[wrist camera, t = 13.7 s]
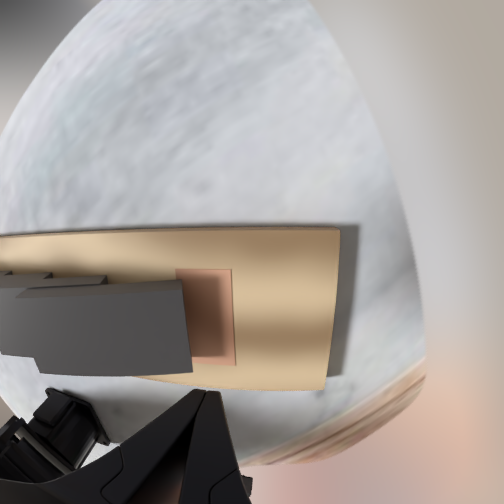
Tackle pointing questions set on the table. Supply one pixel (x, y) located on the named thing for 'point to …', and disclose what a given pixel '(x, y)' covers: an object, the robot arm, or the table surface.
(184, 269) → the board
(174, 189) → the table surface
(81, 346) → the domino
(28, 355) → the domino
